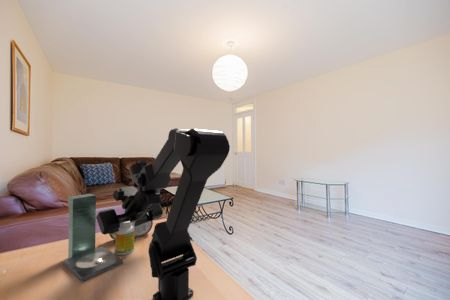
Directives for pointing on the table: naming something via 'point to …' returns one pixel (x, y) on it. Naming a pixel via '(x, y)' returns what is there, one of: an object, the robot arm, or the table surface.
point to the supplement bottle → (125, 239)
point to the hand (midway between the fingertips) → (122, 229)
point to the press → (86, 240)
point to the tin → (138, 229)
